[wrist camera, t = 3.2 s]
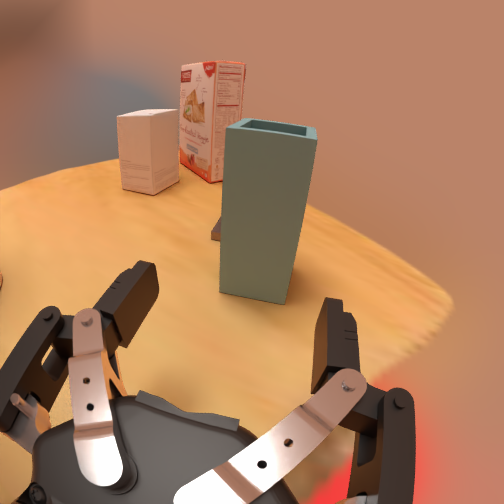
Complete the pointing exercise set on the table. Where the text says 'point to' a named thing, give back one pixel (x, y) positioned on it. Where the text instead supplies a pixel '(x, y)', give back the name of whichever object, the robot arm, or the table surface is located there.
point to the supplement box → (148, 150)
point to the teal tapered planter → (263, 205)
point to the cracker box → (209, 114)
